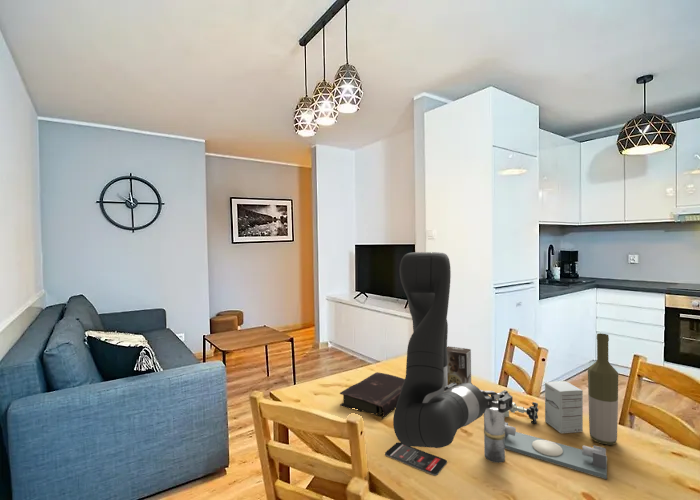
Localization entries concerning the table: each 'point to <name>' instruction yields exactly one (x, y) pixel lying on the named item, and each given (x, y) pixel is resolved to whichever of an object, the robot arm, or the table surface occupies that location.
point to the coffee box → (458, 365)
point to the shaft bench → (558, 452)
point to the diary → (374, 394)
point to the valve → (530, 411)
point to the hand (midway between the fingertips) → (487, 390)
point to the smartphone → (416, 458)
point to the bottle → (603, 396)
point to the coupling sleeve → (494, 435)
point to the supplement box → (564, 406)
